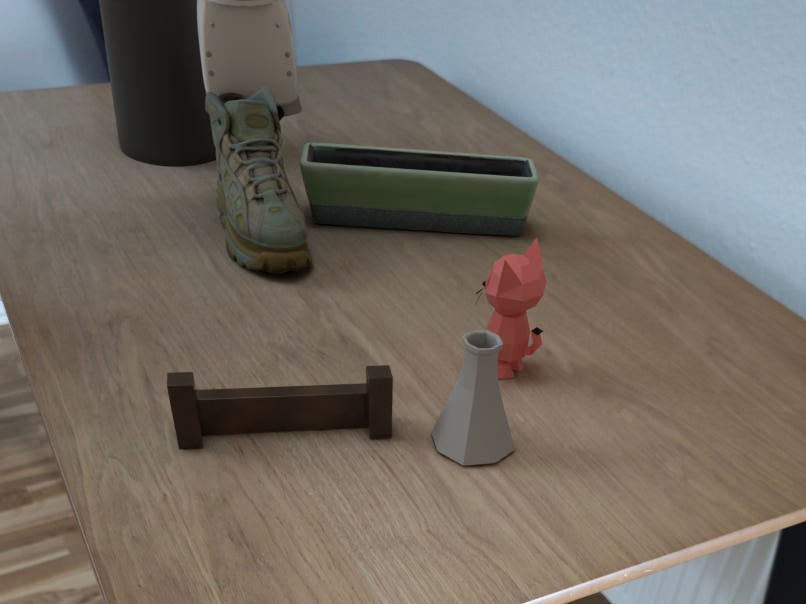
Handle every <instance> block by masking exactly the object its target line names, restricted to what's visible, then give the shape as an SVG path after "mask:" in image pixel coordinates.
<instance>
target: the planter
mask: <svg viewBox="0 0 806 604" xmlns="http://www.w3.org/2000/svg"><path fill="white" fill-rule="evenodd" d="M299 166H300V167H299V168H300V172H301V177H302V181H303V185H304V189H305V193H306V197H307V201H308V205H309V209H310V212H311V216H312V219H313V221H314V223H315V224H319V225H330V226H331V225H332V226H344V227H345V226H348V227H361V228H374V229H375V228H377V229H392V230H393V229H394V230H407V231H425V232H438V233H439V232H441V233H456V234H457V233H458V234H472V235H473V234H474V235H489V236H490V235H491V236H510V237H511V236H512V237H517V236H518V237H519V236H521V234H522V233H523V230H524V227H525V224H526V221H527V219H528V215H529V213H530V209H531V206H532V204H533V201H534V198H535V194H536V192H537V189H538V185H539V176H538V172H537V168H536V163H535V161H534V160H533V159H531V158H530V157H524V156H523V157H521V156H510V155H497V154H484V153H483V154H482V153H471V152H469V153H468V152H455V151H443V150H442V151H441V150H428V149H415V148H399V147H387V146H386V147H385V146H373V145H372V146H371V145H361V144H360V145H358V144H344V143H332V142H331V143H329V142H314V141H313V142H312V141H311V142H305V143H304V144H303V145H302V150H301V154H300V161H299Z"/></svg>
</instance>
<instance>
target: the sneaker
mask: <svg viewBox="0 0 806 604" xmlns="http://www.w3.org/2000/svg"><path fill="white" fill-rule="evenodd" d="M206 106H207V109H208V112H209V116H210V119H211V129H212V135H213V141H214V145H215V148H216V169H217V173H218V178H217V181H216V185H217V187H216V197H215V207H216V210H217V212H218V214H219V215H218V219H219V220H220V224H221V225H222V228H223V229H224V230H225V247H226V252H227V254H228V256H229V257H230V259H231V260H232V261H234V262H236V264H237V265H238V266H240V267H243V268H247V270H250V271H251V270H252V271H256V272H260V271H263V272H267V273H270V274H284V273H286V272H289V271H290V272H294V273H299V272H303V271H305V270H306V267H312V265H313V261H314V259H313V257H312V252H311V248H310V246H309V244H308V231H307V224H306V218H305V214H304V211H303V208H302V206H301V204H300V202H299V200H298V199H297V196H296V193H295V191H294V189H293V187H292V185H291V183H290V182H289V177H288V175H287V172H286V168H285V162H284V158H283V151H282V147H283V142H284V137H283V135H282V128H281V123H280V122H279V118H278V112H277V106H276V102H275V97H274V95H273V93H272V91H271V90H270V89H269V88H267V87H262V88H261V89H260V90H259V91H257V92H256V93H255V94H253V95H252V96H250V97H249V98H248V97H245V96H243V95H240V94H237V93H222V94H220V95H216V94H214V93H212V92H207V97H206Z"/></svg>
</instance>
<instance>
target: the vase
mask: <svg viewBox="0 0 806 604" xmlns="http://www.w3.org/2000/svg"><path fill="white" fill-rule="evenodd" d="M98 4H99V10H100V17H101V26H102V30H103V31H102V32H103V39H104V45H105V53H106V61H107V65H108V66H107V67H108V74H109V83H110V89H111V96H112V104H113V109H114V118H115V125H116V130H117V138H118V144H119V148H120V150H121V152H122V153H123V154H124V155H126V156H127V157H129V158H131V159H133V160H136V161H138V162H142V163H147V164H151V165H158V166H170V167H171V166H174V167H175V166H177V167H178V166H191V165H199V164H202V163H203V164H204V163H207V162H211V161H213V160H215V159H216V148H215V145H214V141H213V135H212V129H211V119H210V116H209V113H207V112H206V110H205V97H206V89H205V85H204V79H203V73H202V65H201V57H200V46H199V36H198V24H197V0H98Z"/></svg>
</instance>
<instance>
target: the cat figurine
mask: <svg viewBox="0 0 806 604" xmlns="http://www.w3.org/2000/svg"><path fill="white" fill-rule="evenodd" d="M481 285H482V286H483V287H484V291H485V292H484V293H485V296H486V300H487V303H488V304H489V305H490V306H491V307H492V308H493V309H494V310H493V312H492V314H491V316H490V318H489V321H488V323H487V325H486V328H485V330H488V331H490V332H492V333H494V334H497V335H499V336H500V338H501V340H502V342H503V348H502V350H500V351H499V353H498V363H497V370H498V380H507V379H508V380H509V379H514V377H515V373H514V371H517V372H520V371H522V370H524V366H523V361H522V359H524V358H526V356H530V357H531V356H532V355H534V354H535V353H536V351H537V350H538V349H539V348H540V347H541V346H542V345H543V341H542V336H541V335H542V333H543V332H544V330H543V329H541V328H540V327H539V326H536V327H535V328H533V329H532V330H531V329H530V328H531V327H530V322H529V318H528V313H527V311H528V310H530V309H533V308H535V307H536V306H538V303H539V302H540V301H541V299H542V298H543V296H544V294H545V290H546V287H547V278H546V274H545V271H544V266H543V261H542V256H541V250H540V245H539V241H538V237H535V239H534V240H533V242H532V243H531V244H530V246H529V247H528V248H527V250H526V251H525V253H524V254H516V253H512V254H511V253H510V254H505V255H503V256H502V257H500V258H499V259H497V260H496V261H495V262H493V265H492V267H491V269H490V271H489V273H488V275H487V276H486V280H484V281H482V283H481ZM482 291H483V288H481V289H480V290H478V291H476V293H475V295H477V294H479V293H480V295H479V296H478V298H477V300H476V301H475V304H474V305H475V306H476V305H477V303H478V301H479V299H480V298H481V296H482V294H483V292H482ZM530 336H531V338H532V344H531V346H529V342H530Z"/></svg>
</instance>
